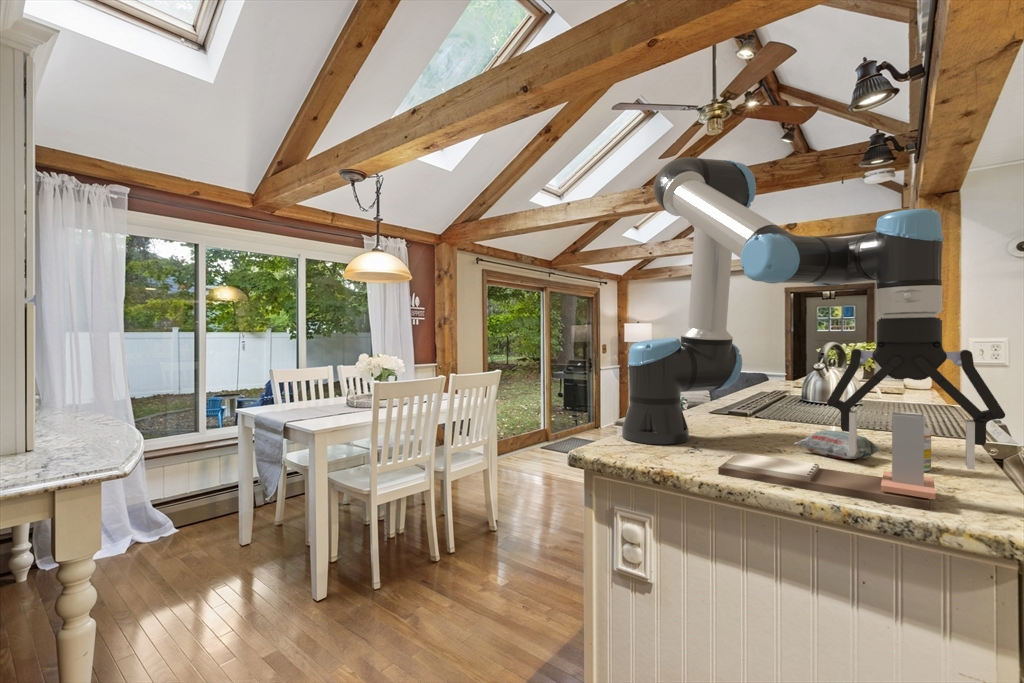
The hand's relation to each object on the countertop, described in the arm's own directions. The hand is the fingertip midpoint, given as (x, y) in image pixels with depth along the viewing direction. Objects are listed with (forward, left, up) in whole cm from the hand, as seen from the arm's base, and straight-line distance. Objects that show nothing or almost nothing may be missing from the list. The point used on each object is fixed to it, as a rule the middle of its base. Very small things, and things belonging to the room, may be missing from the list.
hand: (908, 459), depth 72 cm
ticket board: (-10, -7, -6) cm, 13 cm away
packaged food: (-21, +11, -6) cm, 25 cm away
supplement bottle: (-11, +16, -6) cm, 21 cm away
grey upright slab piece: (0, 0, -4) cm, 4 cm away
